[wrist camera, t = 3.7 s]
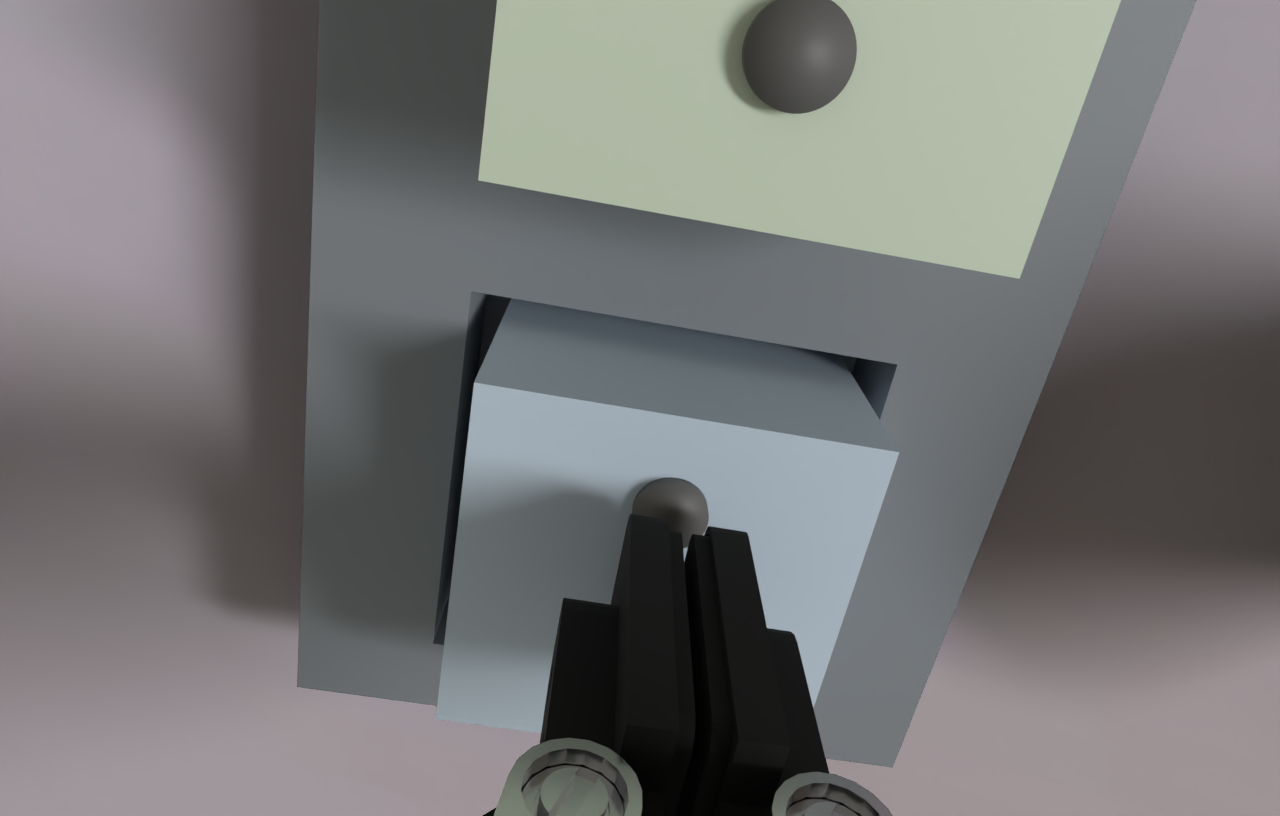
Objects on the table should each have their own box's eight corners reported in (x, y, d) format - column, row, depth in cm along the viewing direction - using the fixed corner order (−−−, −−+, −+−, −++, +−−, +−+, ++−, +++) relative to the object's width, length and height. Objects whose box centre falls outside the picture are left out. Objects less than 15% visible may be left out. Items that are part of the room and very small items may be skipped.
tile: (511, 297, 16) (471, 388, 12) (838, 353, 16) (903, 458, 12) (476, 576, 18) (433, 728, 14) (762, 618, 18) (795, 776, 15)
